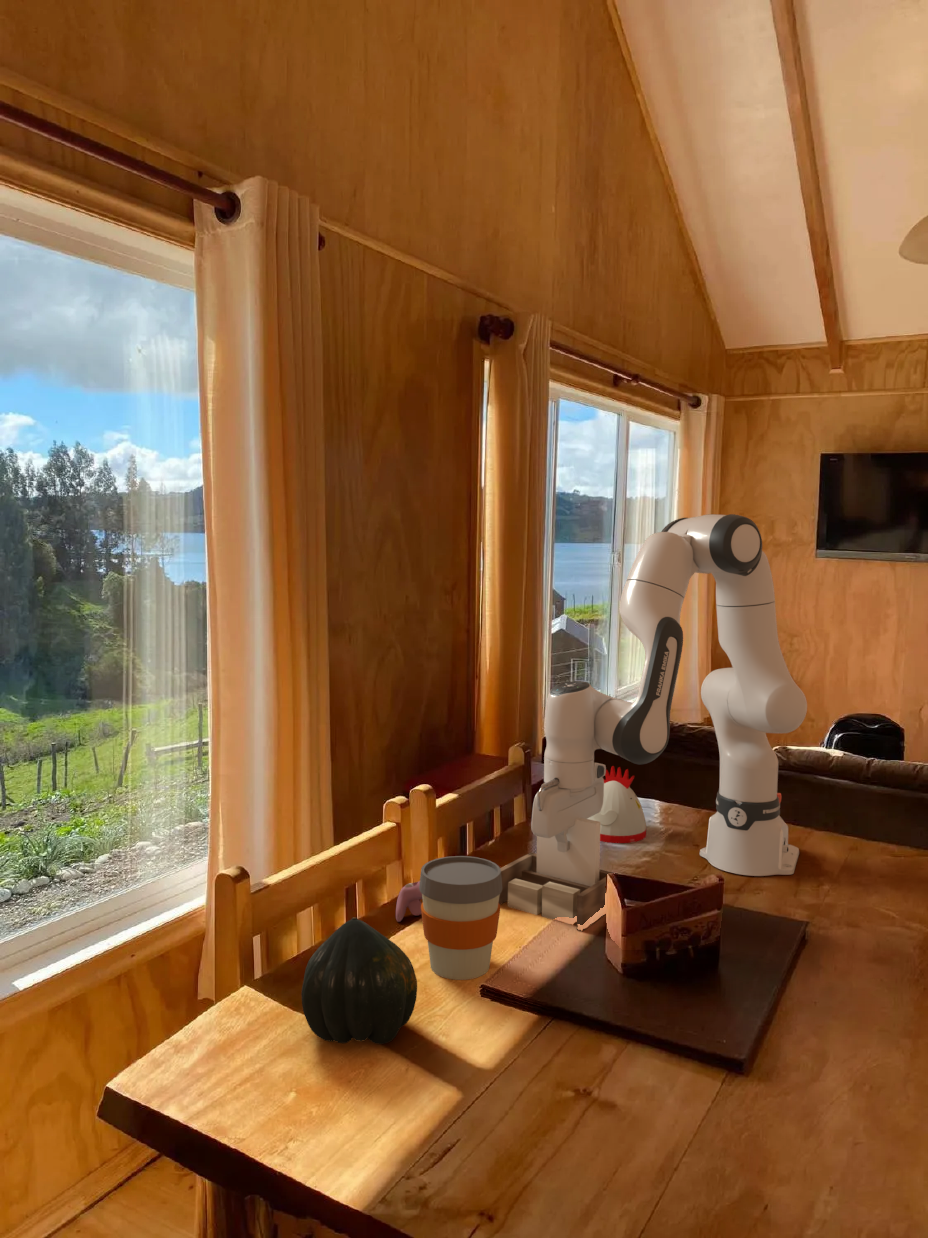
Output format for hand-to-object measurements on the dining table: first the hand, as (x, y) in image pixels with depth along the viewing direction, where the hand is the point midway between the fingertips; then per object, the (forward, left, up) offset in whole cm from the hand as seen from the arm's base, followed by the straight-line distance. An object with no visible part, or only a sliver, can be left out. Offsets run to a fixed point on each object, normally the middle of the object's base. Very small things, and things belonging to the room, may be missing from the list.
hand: (567, 848), depth 165 cm
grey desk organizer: (+4, 0, -9) cm, 10 cm away
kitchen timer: (-39, -10, -10) cm, 42 cm away
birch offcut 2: (+8, +3, -9) cm, 13 cm away
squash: (+56, 0, -10) cm, 56 cm away
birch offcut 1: (+8, -4, -9) cm, 13 cm away
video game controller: (+22, -15, -10) cm, 28 cm away
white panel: (0, 0, -8) cm, 8 cm away
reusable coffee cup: (+33, 0, -10) cm, 34 cm away
